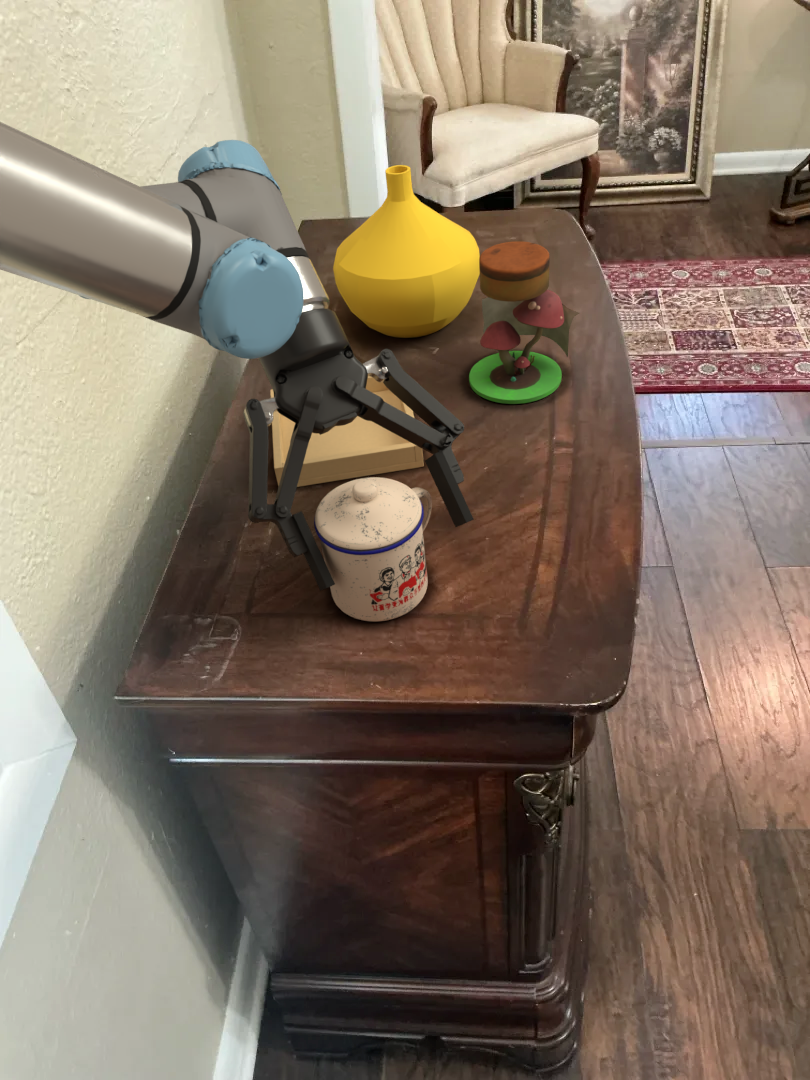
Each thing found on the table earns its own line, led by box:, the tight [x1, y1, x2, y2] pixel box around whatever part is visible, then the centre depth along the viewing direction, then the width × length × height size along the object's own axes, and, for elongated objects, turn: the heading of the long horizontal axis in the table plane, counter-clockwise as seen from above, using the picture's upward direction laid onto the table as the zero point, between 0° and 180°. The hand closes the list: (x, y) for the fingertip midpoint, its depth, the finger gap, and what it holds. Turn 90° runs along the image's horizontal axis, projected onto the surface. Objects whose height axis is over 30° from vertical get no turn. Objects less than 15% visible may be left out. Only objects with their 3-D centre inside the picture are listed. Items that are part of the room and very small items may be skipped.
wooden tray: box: [269, 376, 425, 488], centre depth 94 cm, size 15×15×3 cm
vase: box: [332, 164, 481, 339], centre depth 106 cm, size 18×18×19 cm
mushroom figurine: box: [468, 240, 580, 405], centre depth 95 cm, size 12×13×15 cm
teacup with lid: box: [313, 476, 433, 622], centre depth 74 cm, size 12×9×12 cm
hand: (398, 555), depth 73 cm, fingers open, 13 cm apart
